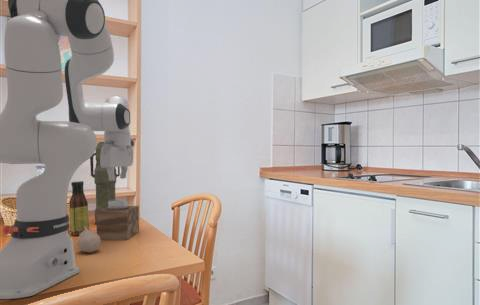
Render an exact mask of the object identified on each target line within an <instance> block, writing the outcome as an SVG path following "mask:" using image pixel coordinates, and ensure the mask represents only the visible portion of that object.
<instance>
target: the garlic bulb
mask: <svg viewBox="0 0 480 305" xmlns="http://www.w3.org/2000/svg"><path fill="white" fill-rule="evenodd" d="M84 228H85V230H84V231H83V232H81V233H80V235H79V236H78V239H77V247H78V249H79V250H80V251H81V252H83V253H94V252H96V251H98V249H99V248H100V245H101V241H102V240H101V239H100V237H99V235H98V234H97V231H93V230H90V229H89V230H88V229H87V227H86V226H84Z"/></svg>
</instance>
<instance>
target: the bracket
mask: <svg viewBox="0 0 480 305" xmlns="http://www.w3.org/2000/svg"><path fill="white" fill-rule="evenodd" d="M127 206H128V199H115V200H110V201H108V210H126V209H127Z"/></svg>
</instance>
